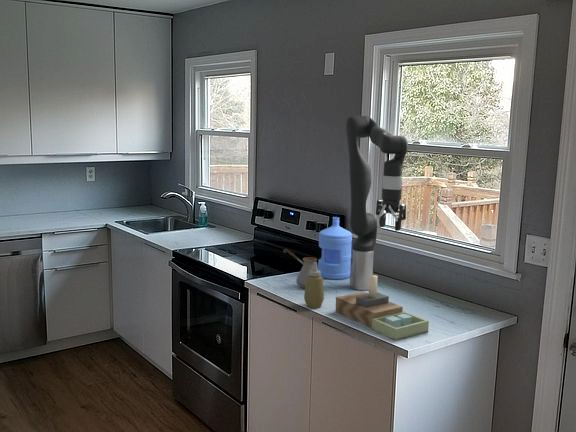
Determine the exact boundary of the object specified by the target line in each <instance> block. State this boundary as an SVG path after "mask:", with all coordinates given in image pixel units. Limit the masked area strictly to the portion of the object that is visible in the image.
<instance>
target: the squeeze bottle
mask: <svg viewBox="0 0 576 432" xmlns="http://www.w3.org/2000/svg"><path fill="white" fill-rule="evenodd" d="M320 275H321V271H319V270H318V262H317V261H316V262H314V263H313V267H312V270H310V271H309V276H307V278H306V286H305V289H304V295H303V299H304V302H305V305H306V307H307V308H311V309H318V308H321V307H322V305H323V302H324V299H325V292H324V280H323V279H324V278H323V277H321V276H320Z"/></svg>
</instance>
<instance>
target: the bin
mask: <svg viewBox="0 0 576 432" xmlns="http://www.w3.org/2000/svg"><path fill="white" fill-rule="evenodd" d="M400 314H407V315H409V316H412V324H409V325H405V326H402V327H398V328H396V327H393V326H391V325H389V324H386V323H385V318H386V317H391V316H395V317H396V315H400ZM429 323H430V321H429V320H428V319H425V318H422V317H420V316H417V315H414V314H412V313H410V312H407V311H403V312H400V313H396V314H391V315H387V316H383V317H379V318H374V319H372V328H371V331H374V332H376V333H378V334H381V335H383V336H385V337H387V338H390V339H391V338H392V340H394V341H398V340H402V339H405V338H410V337H413V336H418V335H420V334H425V333H428V332H429V327H430V326H429Z"/></svg>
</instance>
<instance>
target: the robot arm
mask: <svg viewBox="0 0 576 432" xmlns="http://www.w3.org/2000/svg"><path fill="white" fill-rule="evenodd" d="M345 132H346V141H347V147H348V160H349V161H348V162H349V164H348V165H349V186H350V204H351V205H350V219H349V220H350V222H349V224H350V229H351V231H352V232H351V233H352V234H354V235H355V236H357V237H356V239H355V241H354V242H353V244H352V253H351V267H350V276H349V287H351V289H354V290H358V291H369V276H370V275H374V274H373V272H374V271H373V270H374V254H375V253H374V250H375V245H376V242H377V233H378V225H379V228H385V226H386V216H387V214H390V215H392V216H393V217H394V220H395V222H394V223H395V224H394V231H396V232H397V231H398V232H399V231H401V229H402V221H405V220H406V219H407V205H406V204H405V203H404V204H400V201H401V199H402V194H403V193H402V192H403V191H402V190H403V164H404V162H405V159H406V155H407V152H408V150H409V149H408V148H409V141H408V139H407V137H406V135H405V136H404V135H393V134H392V133H391V132H390V131H389V130H386V129H385V128H382V127H381V126H380V125H379V124H378V123H377V122H376V121H375V120H374V119H373V118H372V117H370V116H368V115H356V116H355V115H354V116H349V117H347V119H346V123H345ZM361 138H369V140H370V141H371V143H372V144H374V145H375V146H377V147H378V148H379V149H380V151H381V152H382V153H383V154H385V155H386V154H387V155H394V156H393V158H391V159H388V160H385V161H384V163H383V174H382V175H383V176H382V183H381V199H380V200H379V199H377V200H376V204H375V215H376V216H378V217H379V218H378V219H379V220H378V221H379V223H378V221H377V217H376V216H375V215H374V214H372V213H370V212H367V200H368V197H369V195H370V194H369V193H370V191H371V187H372V170H371V169H372V168H371V166H370V164H369V162H368V160H367V159H366V157H365V156H364V155H363V153H362V151H361V149H360V146H359V141H358V139H361Z"/></svg>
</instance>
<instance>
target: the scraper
mask: <svg viewBox="0 0 576 432" xmlns="http://www.w3.org/2000/svg"><path fill="white" fill-rule="evenodd" d="M378 278H379V277H378V275H376V274H373V275H370V276H369V290H368V295H363V296H359V297H356V304H359V305H361V306H364V307H366V308H368V307H373V306H377V305H381V304H385V303H388V301H389V298H390V297H389V295H386V294H383V293H380V292H378ZM389 302H390V301H389Z"/></svg>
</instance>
